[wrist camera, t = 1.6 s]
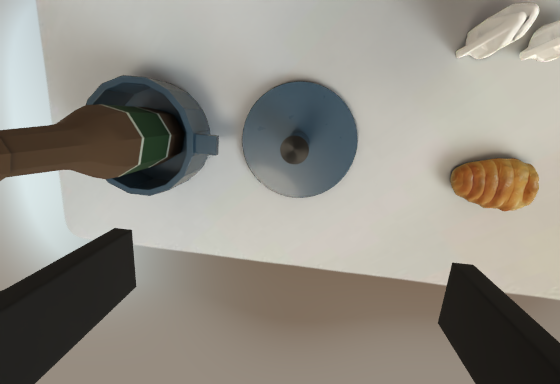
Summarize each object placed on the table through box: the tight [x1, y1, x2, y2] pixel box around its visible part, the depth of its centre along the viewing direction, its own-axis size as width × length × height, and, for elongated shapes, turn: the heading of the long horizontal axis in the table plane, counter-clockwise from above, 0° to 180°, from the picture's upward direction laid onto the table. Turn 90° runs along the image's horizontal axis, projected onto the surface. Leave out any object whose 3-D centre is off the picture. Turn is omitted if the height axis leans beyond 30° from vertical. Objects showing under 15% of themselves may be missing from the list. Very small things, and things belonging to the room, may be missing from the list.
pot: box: [86, 75, 219, 196], centre depth 38 cm, size 15×20×6 cm
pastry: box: [450, 158, 539, 211], centre depth 36 cm, size 9×7×4 cm
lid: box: [242, 82, 357, 198], centre depth 34 cm, size 16×16×11 cm
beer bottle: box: [0, 104, 184, 181], centre depth 30 cm, size 8×8×24 cm
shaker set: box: [456, 3, 560, 62], centre depth 29 cm, size 12×4×11 cm, turn 85°
